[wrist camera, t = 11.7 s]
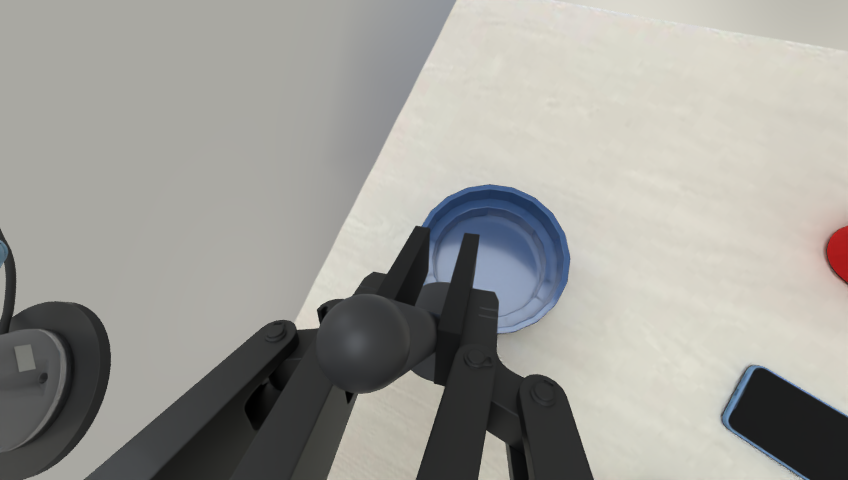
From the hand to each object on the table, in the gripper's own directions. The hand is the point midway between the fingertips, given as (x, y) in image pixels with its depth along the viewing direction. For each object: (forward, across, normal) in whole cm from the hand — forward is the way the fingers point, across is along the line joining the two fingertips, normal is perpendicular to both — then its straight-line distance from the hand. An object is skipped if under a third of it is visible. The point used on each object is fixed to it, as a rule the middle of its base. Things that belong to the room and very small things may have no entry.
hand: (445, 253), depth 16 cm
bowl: (+19, +2, -13) cm, 24 cm away
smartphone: (+11, +35, -22) cm, 43 cm away
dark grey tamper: (+1, 0, -7) cm, 7 cm away
